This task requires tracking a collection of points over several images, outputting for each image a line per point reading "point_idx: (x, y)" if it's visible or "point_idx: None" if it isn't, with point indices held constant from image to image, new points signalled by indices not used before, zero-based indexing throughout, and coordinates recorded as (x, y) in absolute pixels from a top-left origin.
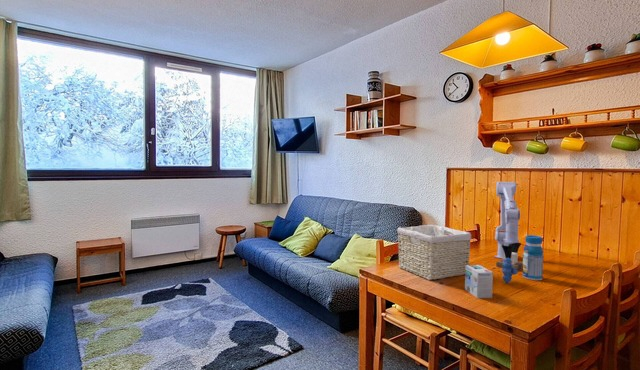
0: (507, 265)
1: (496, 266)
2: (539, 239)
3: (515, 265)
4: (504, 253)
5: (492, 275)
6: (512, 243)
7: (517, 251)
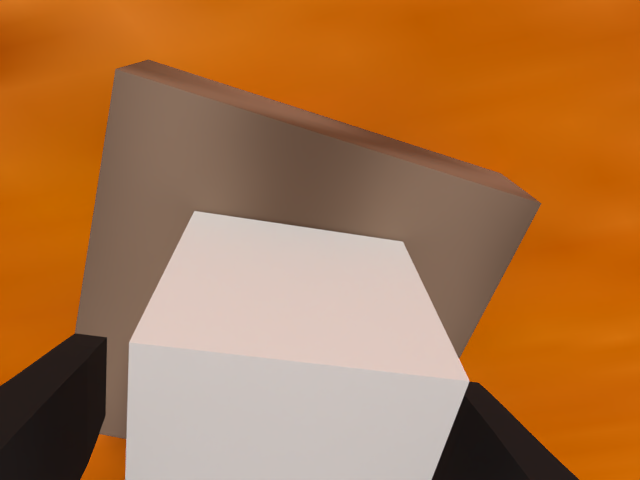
0: None
1: (148, 63)
2: None
3: (120, 415)
4: (134, 349)
5: None
6: None
7: None
